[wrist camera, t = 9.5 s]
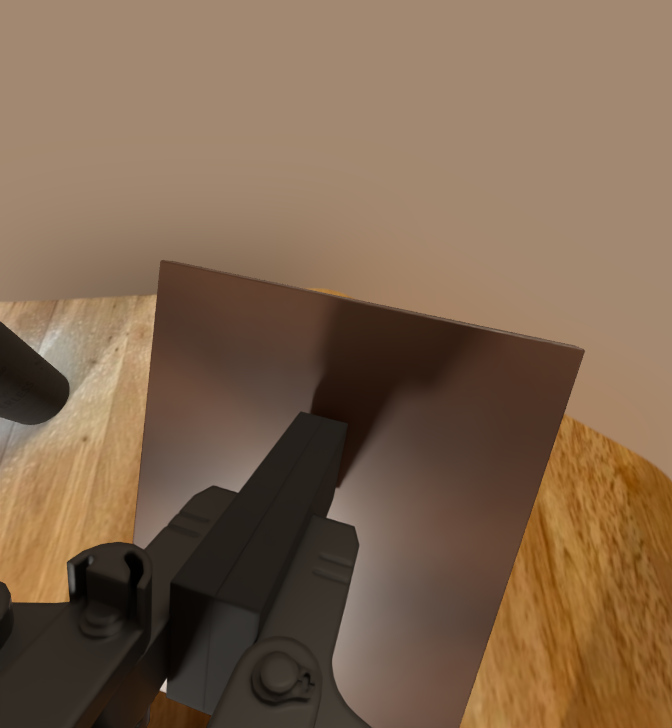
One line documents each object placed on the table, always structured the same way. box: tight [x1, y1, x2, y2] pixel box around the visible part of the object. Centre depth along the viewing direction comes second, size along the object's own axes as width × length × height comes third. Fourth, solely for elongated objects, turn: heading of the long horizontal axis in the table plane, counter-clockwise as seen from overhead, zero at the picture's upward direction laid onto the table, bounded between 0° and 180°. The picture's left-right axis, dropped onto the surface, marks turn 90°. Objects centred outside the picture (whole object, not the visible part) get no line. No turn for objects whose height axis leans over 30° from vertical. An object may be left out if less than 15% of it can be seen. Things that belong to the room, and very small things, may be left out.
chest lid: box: [133, 260, 585, 728], centre depth 14 cm, size 17×13×1 cm
